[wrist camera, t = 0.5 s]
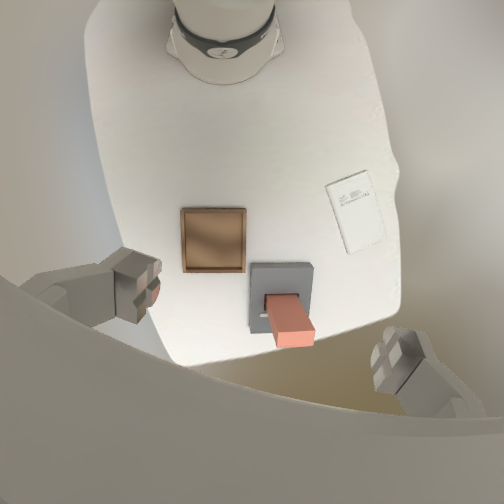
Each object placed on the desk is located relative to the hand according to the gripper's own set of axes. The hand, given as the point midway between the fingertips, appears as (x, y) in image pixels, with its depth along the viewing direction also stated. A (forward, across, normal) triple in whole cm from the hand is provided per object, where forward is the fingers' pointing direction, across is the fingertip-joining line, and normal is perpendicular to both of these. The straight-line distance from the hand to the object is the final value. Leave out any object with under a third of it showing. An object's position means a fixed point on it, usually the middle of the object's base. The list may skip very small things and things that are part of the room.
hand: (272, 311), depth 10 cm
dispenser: (+36, -3, +22) cm, 42 cm away
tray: (+34, +10, +14) cm, 38 cm away
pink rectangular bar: (+36, -3, +22) cm, 42 cm away
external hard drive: (+42, -12, +5) cm, 44 cm away
